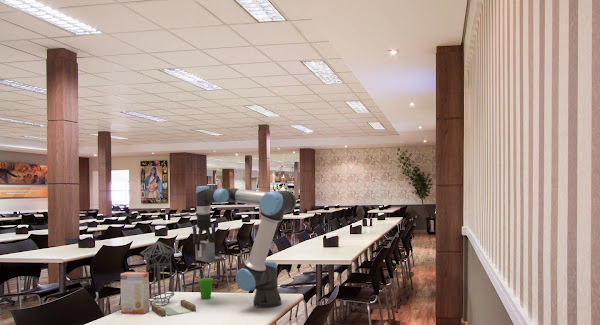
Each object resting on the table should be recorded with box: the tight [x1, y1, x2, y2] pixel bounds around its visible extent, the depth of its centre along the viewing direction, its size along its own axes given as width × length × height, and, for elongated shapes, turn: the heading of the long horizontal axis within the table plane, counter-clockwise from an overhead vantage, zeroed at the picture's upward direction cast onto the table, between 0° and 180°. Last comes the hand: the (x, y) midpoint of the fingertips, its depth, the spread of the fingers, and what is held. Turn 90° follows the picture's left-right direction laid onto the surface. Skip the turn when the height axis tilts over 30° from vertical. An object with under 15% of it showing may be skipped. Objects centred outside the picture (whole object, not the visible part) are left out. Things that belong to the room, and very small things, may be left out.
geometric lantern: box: [139, 241, 177, 307], centre depth 289 cm, size 16×16×35 cm
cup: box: [197, 277, 214, 300], centre depth 299 cm, size 9×9×11 cm
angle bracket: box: [194, 240, 224, 263], centre depth 285 cm, size 16×10×10 cm, turn 32°
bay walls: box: [151, 299, 197, 318], centre depth 271 cm, size 18×18×3 cm
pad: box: [162, 304, 191, 317], centre depth 271 cm, size 18×12×1 cm, turn 32°
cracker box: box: [120, 271, 150, 315], centre depth 271 cm, size 14×6×21 cm, turn 71°
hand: (205, 255), depth 284 cm, fingers closed on angle bracket, 5 cm apart
